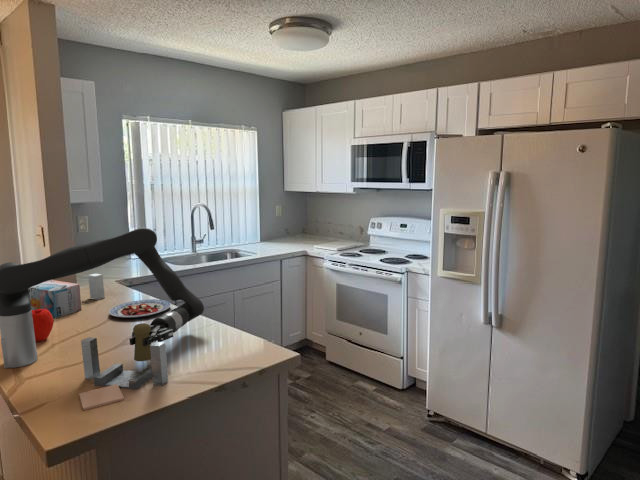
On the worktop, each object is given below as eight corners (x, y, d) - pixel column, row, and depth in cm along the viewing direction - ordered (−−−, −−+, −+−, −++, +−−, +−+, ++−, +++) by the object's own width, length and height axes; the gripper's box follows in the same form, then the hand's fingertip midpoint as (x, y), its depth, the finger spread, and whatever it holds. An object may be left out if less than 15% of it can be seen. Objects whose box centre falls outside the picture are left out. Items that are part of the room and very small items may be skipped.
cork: (147, 352, 152) (145, 320, 150) (157, 356, 148) (155, 323, 146) (130, 358, 147) (127, 325, 146) (140, 363, 144) (137, 329, 142)
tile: (83, 410, 121) (83, 408, 121) (79, 395, 129) (79, 393, 129) (124, 399, 126) (123, 397, 126) (117, 385, 135) (117, 383, 135)
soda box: (-1, 308, 217) (-5, 281, 215) (29, 300, 230) (25, 275, 228) (54, 319, 199) (51, 290, 197) (83, 310, 211) (80, 282, 209)
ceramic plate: (108, 325, 190) (108, 318, 189) (109, 308, 213) (109, 302, 213) (174, 316, 200) (173, 309, 199) (168, 301, 223) (167, 295, 223)
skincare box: (105, 297, 231) (103, 274, 229) (97, 300, 227) (94, 276, 225) (98, 296, 234) (95, 273, 232) (90, 298, 230) (87, 274, 228)
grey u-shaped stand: (99, 369, 146) (95, 333, 144) (174, 375, 141) (171, 338, 139) (76, 383, 137) (72, 345, 135) (155, 391, 131) (152, 350, 129)
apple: (51, 333, 181) (47, 303, 179) (58, 339, 174) (55, 308, 172) (21, 340, 174) (17, 308, 172) (28, 346, 167) (24, 314, 165)
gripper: (147, 313, 162) (116, 329, 145) (184, 315, 159) (157, 332, 142) (149, 333, 163) (118, 352, 146) (186, 336, 160) (158, 355, 143)
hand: (137, 342), depth 144 cm, fingers closed on cork, 4 cm apart
